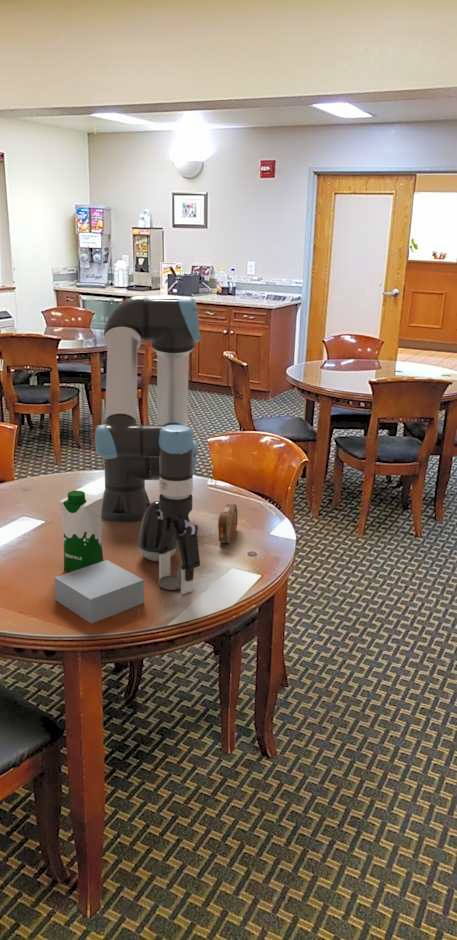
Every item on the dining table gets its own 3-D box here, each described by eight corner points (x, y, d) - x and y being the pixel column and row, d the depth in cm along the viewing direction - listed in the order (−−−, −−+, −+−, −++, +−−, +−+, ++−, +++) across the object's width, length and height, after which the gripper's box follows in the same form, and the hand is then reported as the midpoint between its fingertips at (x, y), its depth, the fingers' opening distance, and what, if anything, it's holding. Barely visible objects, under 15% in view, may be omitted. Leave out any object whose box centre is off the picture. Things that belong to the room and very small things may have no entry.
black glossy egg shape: (147, 568, 179) (146, 511, 175) (132, 553, 188) (131, 498, 183) (184, 561, 184) (185, 505, 179) (168, 546, 193) (168, 492, 188)
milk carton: (58, 570, 177) (54, 493, 171) (80, 557, 185) (77, 482, 179) (88, 577, 174) (85, 499, 168) (109, 563, 182) (107, 488, 176)
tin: (227, 548, 193) (228, 518, 190) (216, 547, 193) (216, 517, 191) (238, 527, 207) (239, 500, 204) (227, 526, 207) (228, 499, 205)
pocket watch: (158, 579, 174) (158, 540, 171) (193, 578, 175) (194, 540, 172) (158, 595, 166) (158, 554, 163) (195, 594, 167) (195, 554, 164)
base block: (55, 601, 163) (54, 577, 161) (107, 583, 172) (106, 560, 170) (91, 625, 153) (90, 599, 151) (143, 604, 162) (143, 579, 161)
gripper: (136, 484, 169) (137, 573, 176) (190, 510, 154) (189, 606, 161) (163, 479, 174) (163, 565, 180) (217, 503, 158) (215, 597, 165)
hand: (175, 585), depth 170 cm, fingers closed on pocket watch, 8 cm apart
